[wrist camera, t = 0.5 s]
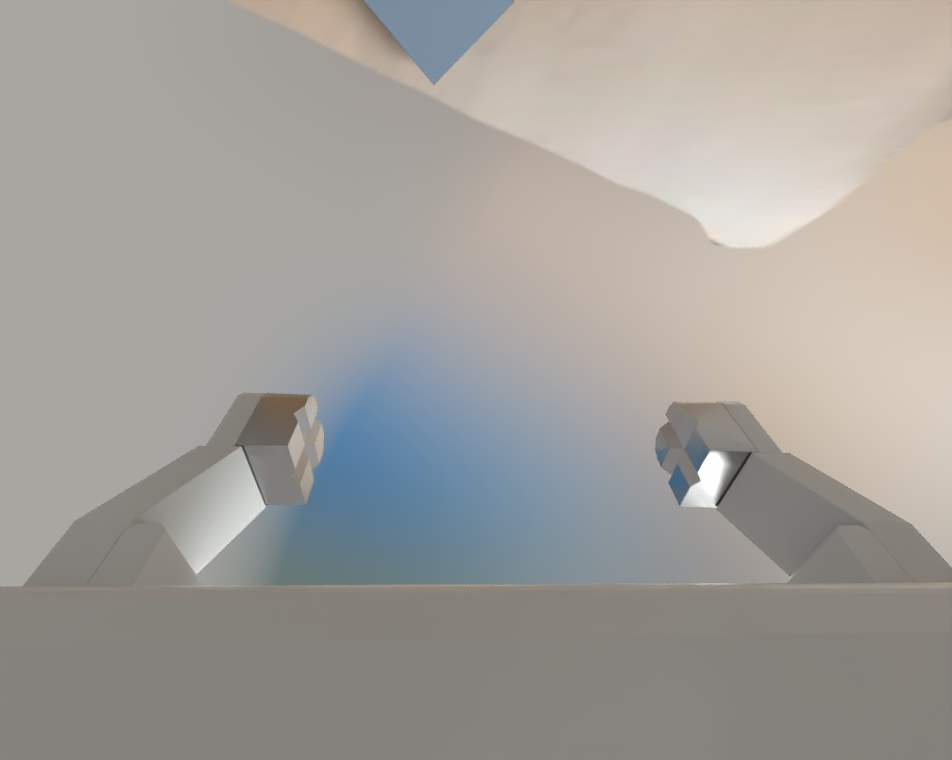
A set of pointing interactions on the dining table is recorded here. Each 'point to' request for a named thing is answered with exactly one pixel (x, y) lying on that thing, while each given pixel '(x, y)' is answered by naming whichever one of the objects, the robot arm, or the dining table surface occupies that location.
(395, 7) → the slate-blue block
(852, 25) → the dining table surface
